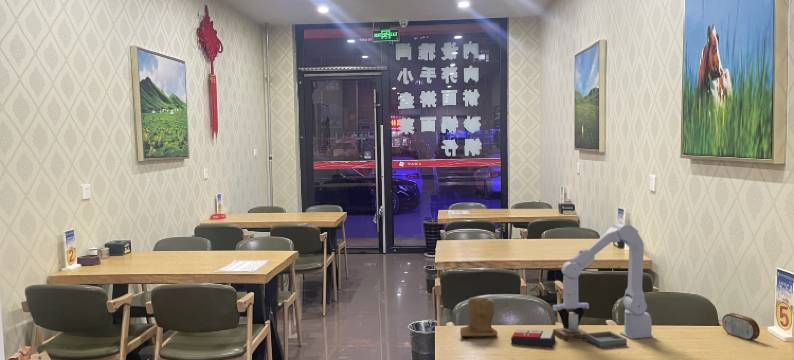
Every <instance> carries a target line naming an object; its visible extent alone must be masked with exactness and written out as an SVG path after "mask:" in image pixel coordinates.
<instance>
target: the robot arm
mask: <svg viewBox="0 0 794 360" xmlns="http://www.w3.org/2000/svg"><path fill="white" fill-rule="evenodd" d="M621 241H622V242H623V243H624V244H625V245H626V246H627V247H628V248H629V249H628V267H627V268H628V269H627V270H628V273H627V287H626V289H625V291H624V296H623V298H622V301H621V302H622V305H623V307H624V309H625V310H624V331H620V332H619V334H621V336H622V335H623V336H625V337H627V338H630V339H632V340H633V339H644V338H652V337H653V338H654V335H653V334H652V333H653V332H652V327H653V325H652V317H651V315H650V313H649V312H647V311H646V310H647V308H648V305H647V301H646V299H645V298H646V296H645V293H644V290H643V275H644V274H643V273H644V253H645V250H644V248H645V244H644V242H643V239H642V237H641V236H640V234H639V230H638V229H636V228H635V227H634V226H633V225H629V224H625V223H623V222H617V223H615V224H613V225H612V226H611V227H609V228H608V229H607V230H606V231H605V233H603V234H602V235H601V236H600V237H599V238H598V239H597V240H596V241H595V242H594V243H593V244H591V246H590V247H589V248H582V249H579V250H578V251H577V252H578V253H577V254H575V255H574V256H573V257H571V258H569V260H568V261H566V262H564V263H563V264H562V267H561V268H560V270H561V273H562V274H563V280H562V283H563V284H562V299H563V300H562V302H563V303H558V304H553V305H552V311H554V312H557V313H558V315H559V316H560V320H561V322H562V328H565V329H568V316H569V311H570V310H572V312H574V313H576V314H578V328H579V325H580V322H581V319H582V317H583V315H584V313H585V309H590V304H589V303H588V302H579V276H581V272H582V271H583V270H584V269H586V267H588V266H589V265H590V264H591V263H593V261H595V257H596V255H597V254H598V253H600V251H602V250H603V249H604V248H606V247H607V246H608V245H610V244H611V243H618V242H621ZM568 310H569V311H568Z"/></svg>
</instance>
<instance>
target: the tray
mask: <svg viewBox="0 0 794 360" xmlns="http://www.w3.org/2000/svg"><path fill="white" fill-rule="evenodd" d="M584 339H585V340H586V342H587V341H588V343H589V344H592V345H593V346H594V347H597V348H599V349H607V348H608V349H609V348H617V347H625V346H628V343H627V338H626V337H624V336H622V335H619V334H617V333H615V332H613V331H610V330H606V331H596V332H587V333H584ZM584 339H583V340H584ZM585 340H584V341H585Z"/></svg>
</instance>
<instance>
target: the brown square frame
mask: <svg viewBox="0 0 794 360" xmlns="http://www.w3.org/2000/svg"><path fill="white" fill-rule="evenodd" d="M552 331H554V332H555V336H556V335H557V336H556V337H558V338H559V337H560V338H559V339H561V338H562V339H561V340H563V339H564V340H563V341H565V342H569V341H568V340H572V341H578V340H577V339H583V340H584V333H588V332H587V331H585V330H583V329H581V328H579V327H578V333H572V334H567V333H566V332H564V327H560V328H553V329H552Z"/></svg>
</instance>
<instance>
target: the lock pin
mask: <svg viewBox="0 0 794 360" xmlns="http://www.w3.org/2000/svg"><path fill="white" fill-rule="evenodd" d="M568 312H569V311H568ZM563 328H564V327H563ZM578 328H579V327H578V314H576V313H574V312H573V311H570V312H569V316H568V329H565V328H564V332H566V333H567V334H572V333H578Z"/></svg>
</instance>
